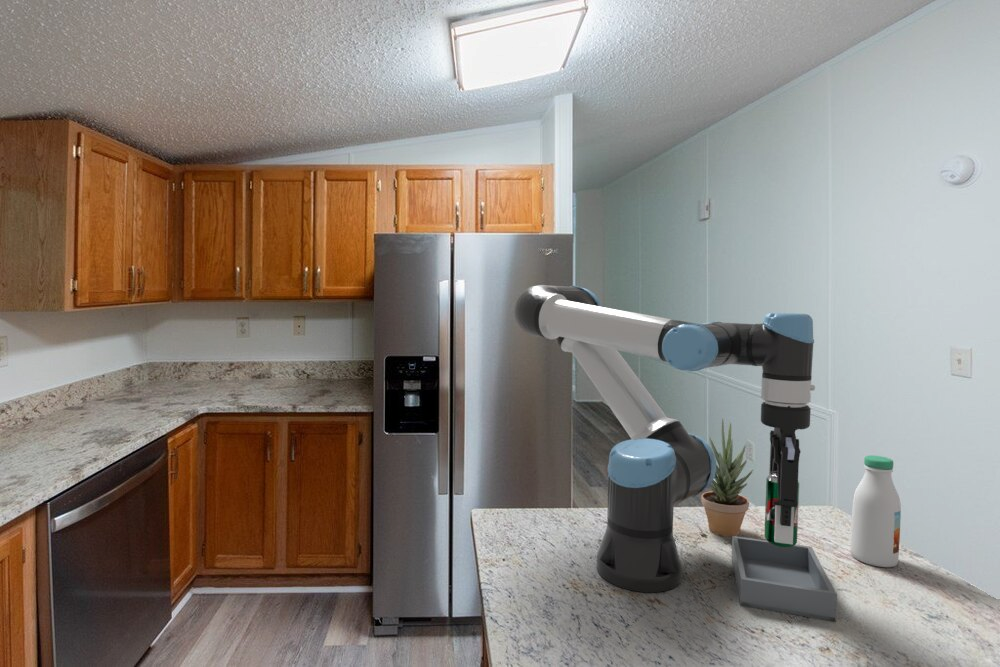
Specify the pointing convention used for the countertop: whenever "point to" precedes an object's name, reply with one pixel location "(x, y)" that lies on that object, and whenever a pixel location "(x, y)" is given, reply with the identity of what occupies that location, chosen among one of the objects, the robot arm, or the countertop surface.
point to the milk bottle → (876, 515)
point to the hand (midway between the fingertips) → (780, 535)
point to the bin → (782, 579)
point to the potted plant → (726, 491)
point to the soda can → (770, 511)
